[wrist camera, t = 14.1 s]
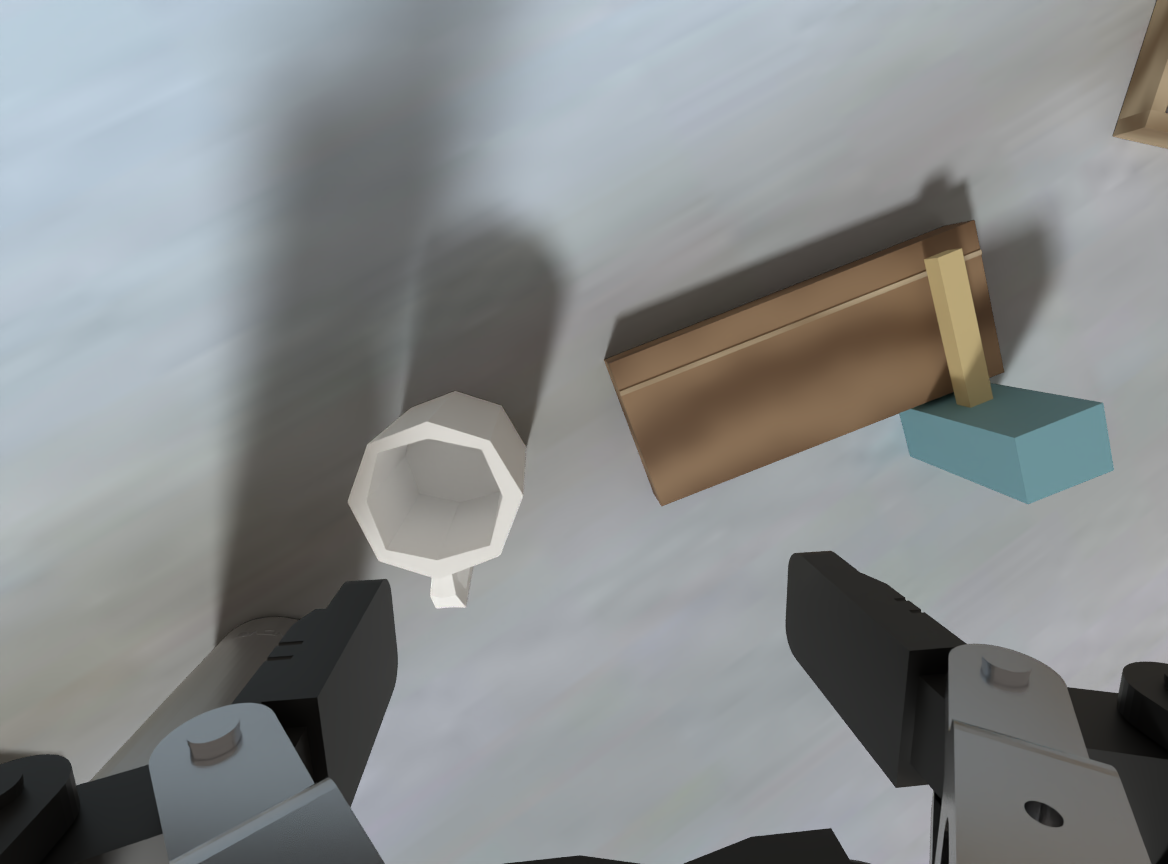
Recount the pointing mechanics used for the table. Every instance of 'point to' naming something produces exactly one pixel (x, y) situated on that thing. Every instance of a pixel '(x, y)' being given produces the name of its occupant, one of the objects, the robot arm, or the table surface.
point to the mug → (441, 491)
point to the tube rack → (1148, 87)
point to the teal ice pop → (999, 412)
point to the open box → (795, 366)
